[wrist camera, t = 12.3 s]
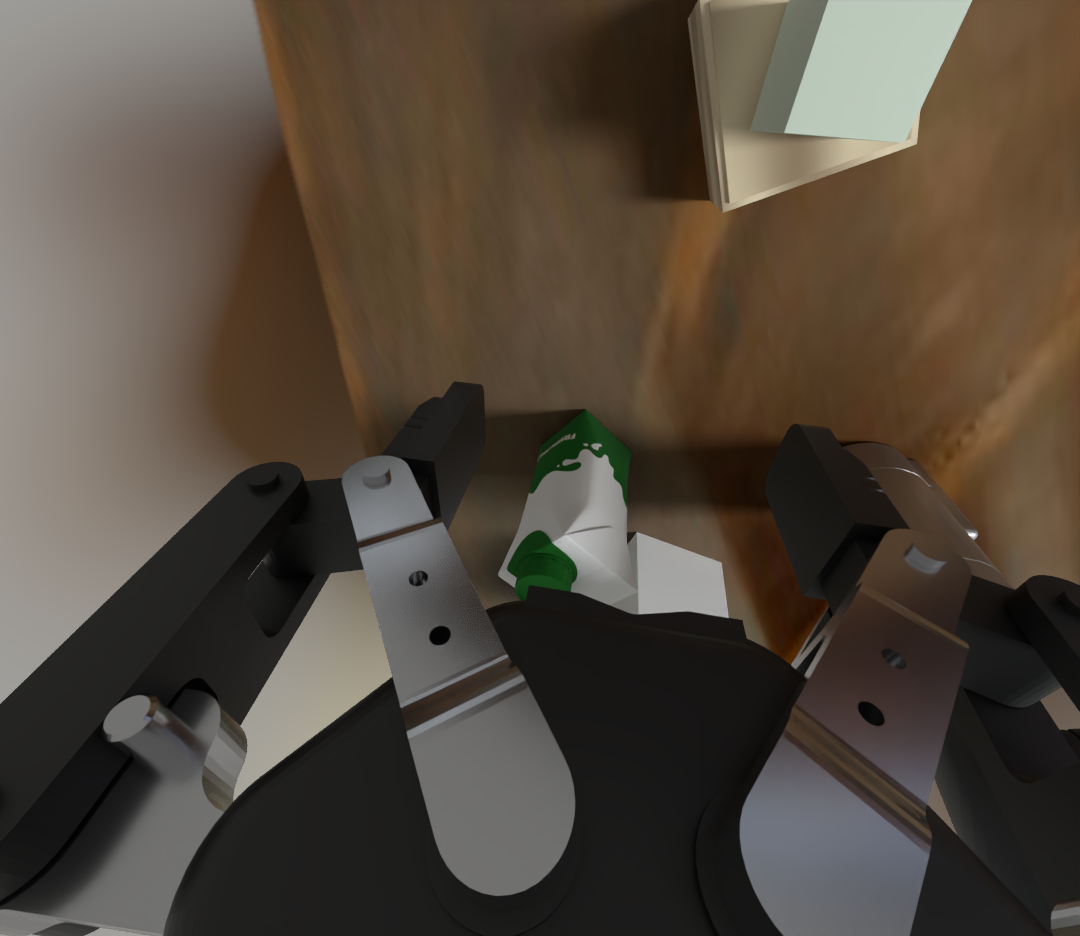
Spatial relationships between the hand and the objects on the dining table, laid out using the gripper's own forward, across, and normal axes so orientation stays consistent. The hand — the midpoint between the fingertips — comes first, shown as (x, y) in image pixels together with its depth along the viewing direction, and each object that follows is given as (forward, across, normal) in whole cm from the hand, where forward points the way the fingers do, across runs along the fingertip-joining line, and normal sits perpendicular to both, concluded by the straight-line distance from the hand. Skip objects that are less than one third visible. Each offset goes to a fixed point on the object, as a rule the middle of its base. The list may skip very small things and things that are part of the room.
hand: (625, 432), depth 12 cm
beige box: (+29, -8, -9) cm, 31 cm away
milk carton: (+29, +1, +21) cm, 36 cm away
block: (+22, -8, -9) cm, 26 cm away
